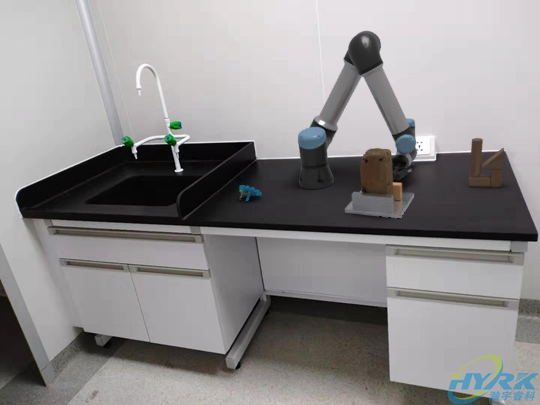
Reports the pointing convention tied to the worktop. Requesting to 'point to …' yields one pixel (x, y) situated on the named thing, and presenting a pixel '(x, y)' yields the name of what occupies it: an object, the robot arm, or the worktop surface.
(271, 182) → the worktop surface
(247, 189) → the blue bumpy figure
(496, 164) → the wooden block structure
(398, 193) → the block
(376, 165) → the block
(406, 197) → the base
